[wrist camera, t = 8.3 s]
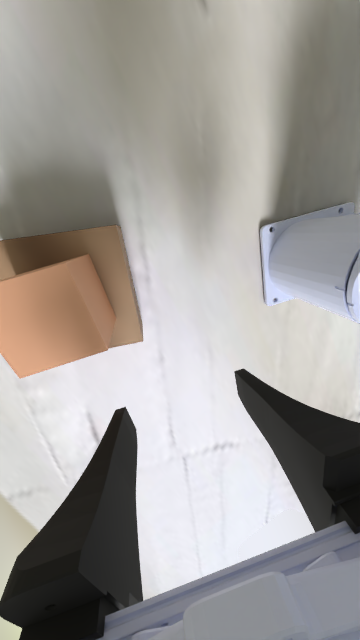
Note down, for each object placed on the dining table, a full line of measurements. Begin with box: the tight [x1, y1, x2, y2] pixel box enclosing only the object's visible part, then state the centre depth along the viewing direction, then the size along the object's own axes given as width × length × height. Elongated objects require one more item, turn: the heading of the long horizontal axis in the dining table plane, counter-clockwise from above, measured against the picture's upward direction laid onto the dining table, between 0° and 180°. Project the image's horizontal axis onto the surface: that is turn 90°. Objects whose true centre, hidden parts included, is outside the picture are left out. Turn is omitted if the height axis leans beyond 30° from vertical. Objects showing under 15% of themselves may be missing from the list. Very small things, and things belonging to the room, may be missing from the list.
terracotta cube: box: [0, 254, 116, 378], centre depth 13 cm, size 5×5×5 cm
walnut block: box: [0, 225, 143, 348], centre depth 17 cm, size 9×9×4 cm
